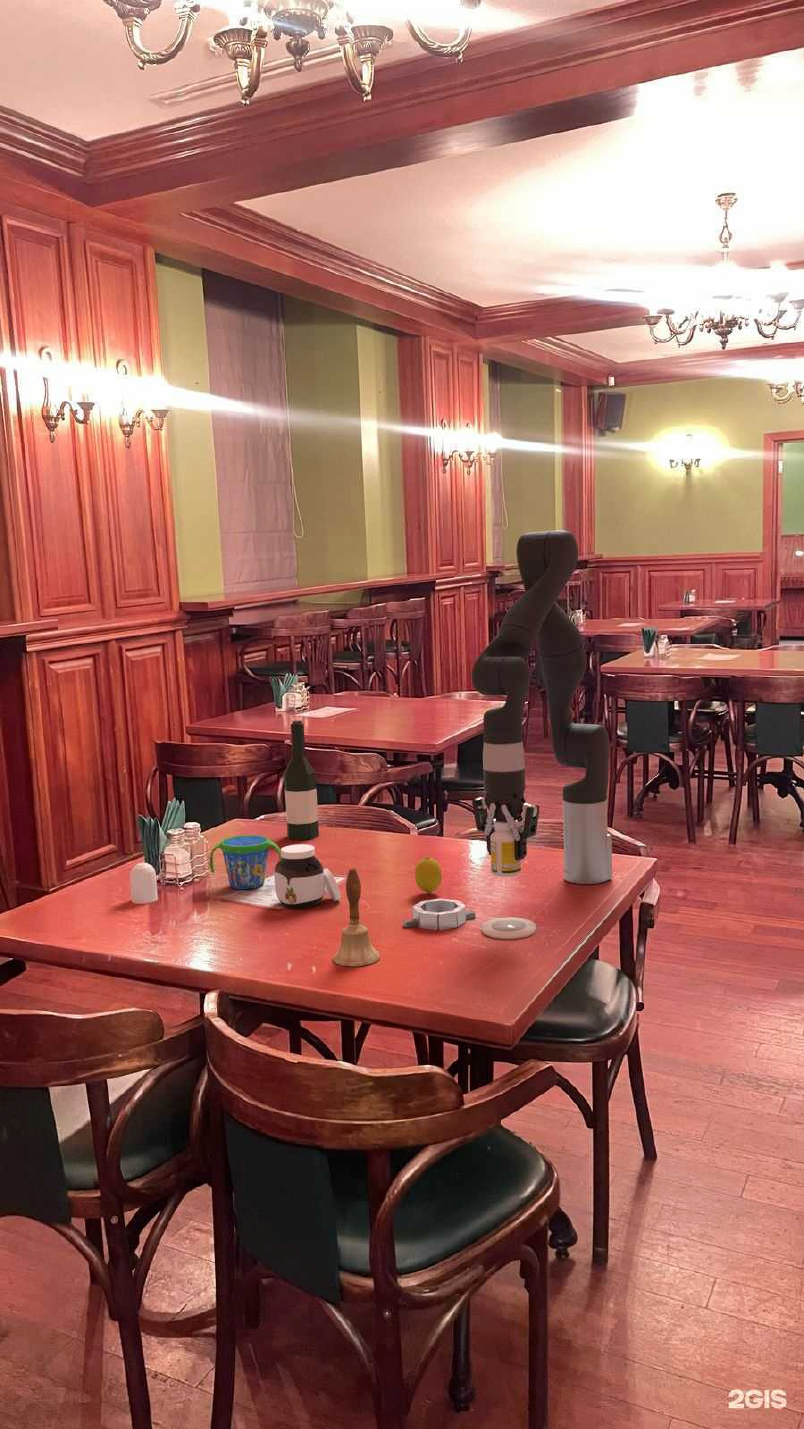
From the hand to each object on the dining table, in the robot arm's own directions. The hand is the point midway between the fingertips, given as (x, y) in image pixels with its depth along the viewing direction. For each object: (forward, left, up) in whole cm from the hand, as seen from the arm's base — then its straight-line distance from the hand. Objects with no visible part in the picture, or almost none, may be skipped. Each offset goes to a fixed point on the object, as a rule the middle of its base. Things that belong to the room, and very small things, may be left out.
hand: (506, 856), depth 203 cm
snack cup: (+40, -51, -14) cm, 66 cm away
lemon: (+6, -28, -14) cm, 32 cm away
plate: (0, 0, -14) cm, 14 cm away
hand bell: (+30, +3, -14) cm, 33 cm away
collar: (+10, -10, -14) cm, 20 cm away
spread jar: (+30, -33, -14) cm, 47 cm away
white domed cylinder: (+62, -50, -14) cm, 81 cm away
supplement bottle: (0, 0, -3) cm, 3 cm away
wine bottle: (+19, -90, -14) cm, 93 cm away
